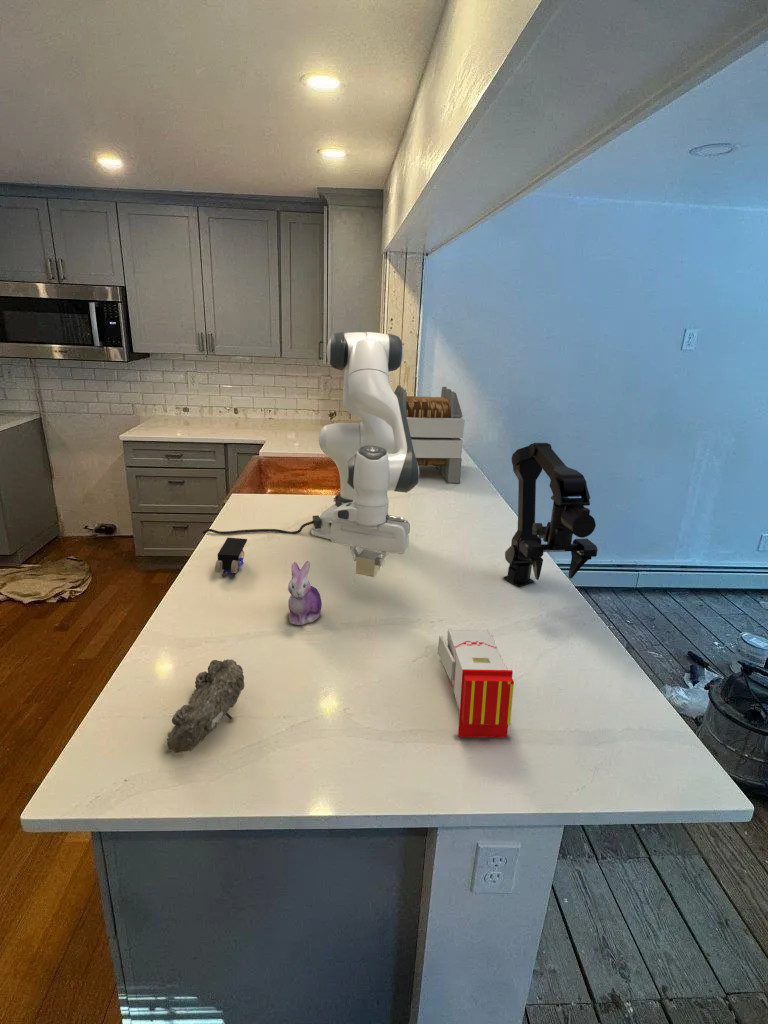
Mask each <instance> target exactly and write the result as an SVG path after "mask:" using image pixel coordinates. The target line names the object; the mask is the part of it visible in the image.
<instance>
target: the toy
mask: <svg viewBox="0 0 768 1024" xmlns="http://www.w3.org/2000/svg"><path fill="white" fill-rule="evenodd" d="M446 640H447V643H446V641H445V639H444V636H443V635H442V634H439V637H438V646H437V656H438V657H439V659H440V661H441V663H442V666H443V668H444V670H445V672H446V674H447V677H448V679H449V681H450V684H451V687H452V690H453V693H454V697H455V701H456V705H457V708H458V711H459V714H458V715H459V716H458V730H457V731H458V732H457V737H458V738H508V731H509V726H510V725H511V717H512V707H513V697H514V696H513V695H514V684H515V680H514V679H513V673H514V671H513V670H512V669H508V667H507V665H506V662H505V661H504V659H503V658H502V655H501V653H500V651H499V649H498V647H497V643H496V639H495V637H494V635H493V634H491V632H490V631H489V629H467V628H466V629H465V628H463V629H461V628H460V629H459V628H448V630H447V639H446Z"/></svg>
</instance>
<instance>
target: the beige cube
mask: <svg viewBox="0 0 768 1024" xmlns="http://www.w3.org/2000/svg"><path fill="white" fill-rule="evenodd" d="M379 557H380V558H382V555H381V551H377V550H371V549H365V548H362V550H361V551H360V552H358V555H357V556H356V562H355V575H359V576H365V577H370V578H375V577H376V576H377V575H378V573H379V572H380V571H381V569H382V567H381V566H377V559H378V558H379Z"/></svg>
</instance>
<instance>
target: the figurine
mask: <svg viewBox="0 0 768 1024" xmlns="http://www.w3.org/2000/svg"><path fill="white" fill-rule="evenodd" d="M310 568H311V561H310V560H307V561H305V563H304V564H303V565H302V567H300V566H299V564H298V563H297V562H296V561H293V562H292V563H291V579H290V580H289V583H288V586H287V590H288V593H289V594H290V596H289V598H288V603H287V604H288V610H289V614H288V617H289V623H290V624H292V625H297V626H303V625H306V624H310V623H313V622H315V621H317V619H319V618H320V617H321V612H322V603H323V602H322V597H321V594H320V591H319V590H318V589H317V588H316V587H315V586H313V585H311V582H310V580H309V578H308V576H309V572H310Z"/></svg>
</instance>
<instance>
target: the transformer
mask: <svg viewBox="0 0 768 1024" xmlns="http://www.w3.org/2000/svg"><path fill="white" fill-rule="evenodd" d="M393 392H394V394H395V395H397V396H398V397H400V398H401V400H402V402H403V405H404V409H405V413H406V417H407V421H408V426H409V431H410V436H411V440H412V445H413V449H414V453H415V456H416V460H417V463H418V466H419V467H436V468H437V470H438V469H439V473H440V474H441V475H443V478H444V479H445V481H446V482H447V483H449V484H455V483H456V484H459V483H461V472H462V461H463V460H462V453H463V442H464V441H463V440H462V439H463V438H464V431H465V430H464V429H465V419H464V418H463V411H462V408H461V405H460V402H459V398H458V395H457V392H455V391H453V390H452V389H451V388H447V386H442V387H441V392H440V393H441V394H440V396H415V395H414V396H413V395H412V396H411V395H407V394H408V393H407V390H406V389H404V388H403V387H402V385H399V384H398V385H397V386H396V388H395V390H394V391H393ZM385 422H386V421H385ZM386 423H388V422H386ZM388 424H389V423H388ZM389 425H390V424H389ZM395 453H397V449H396V447H395V449H394V450H393V452H392V453H391V454H395Z"/></svg>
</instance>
